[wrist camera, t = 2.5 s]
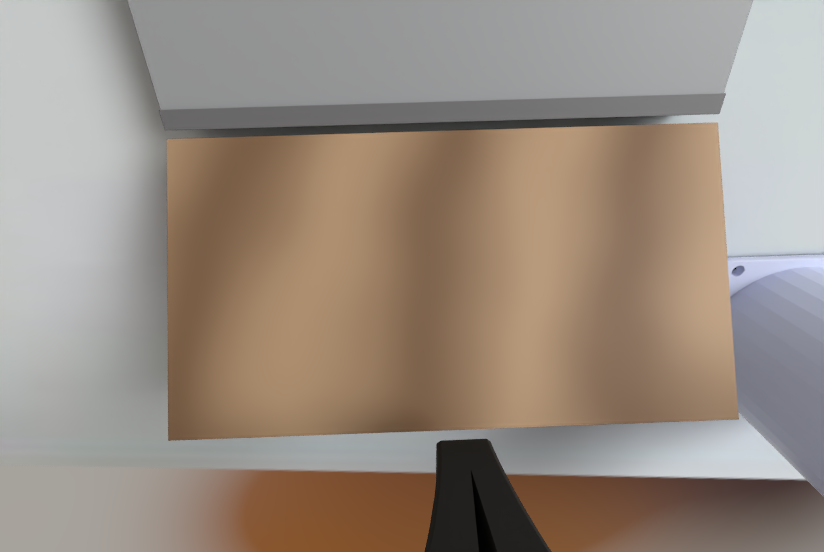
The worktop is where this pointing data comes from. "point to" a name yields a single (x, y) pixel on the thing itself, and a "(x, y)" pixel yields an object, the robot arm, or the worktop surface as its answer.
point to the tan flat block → (447, 281)
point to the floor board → (434, 59)
